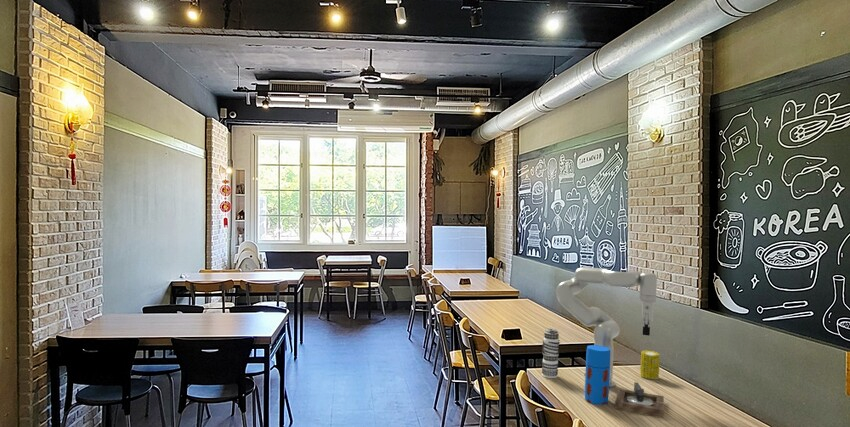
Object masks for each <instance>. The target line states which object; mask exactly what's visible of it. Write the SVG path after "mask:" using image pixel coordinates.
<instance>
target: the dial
mask: <svg viewBox="0 0 850 427" xmlns="http://www.w3.org/2000/svg"><path fill="white" fill-rule="evenodd" d="M633 387H634V388H633V391H634V392H635V393H636V395H637V396H628V397H627V402H631V403H636V404H642V405H648V406H653V405H654V402H653V401H652V400H651V399H649V398H646V397H644V393H645V389H644V388H642V387H641V385H640V384H639V382H638V381H637V382H634V383H633Z"/></svg>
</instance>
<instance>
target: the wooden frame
mask: <svg viewBox="0 0 850 427" xmlns="http://www.w3.org/2000/svg"><path fill="white" fill-rule="evenodd" d="M628 396H637V395H636V393H635V391H634V390H627V389H621V388H619V389H618V391H617V395H616V399H615V406H614V408H615V410H619V411H623V412H630V413H634V414H635V413H636V414H641V415H648V416H650V417H651V416H652V417H658V418H664V412H665V409H664V408H665V406H664V404H665V402H664V401H665V400H664V397H665V396H663V395H659V394H653V393H652V394H651V393H645V392H644V397H646V398H649V399H651V400H652V401H653V402H654V405H653V406H648V405H642V404H636V403H631V402H627V397H628Z"/></svg>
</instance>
